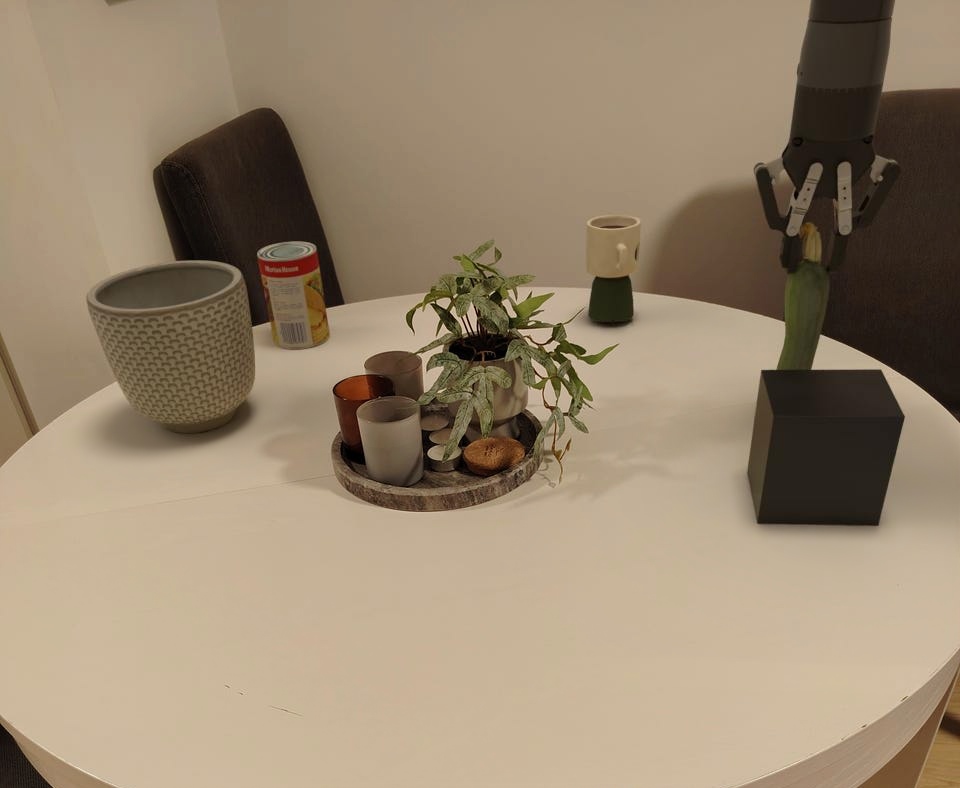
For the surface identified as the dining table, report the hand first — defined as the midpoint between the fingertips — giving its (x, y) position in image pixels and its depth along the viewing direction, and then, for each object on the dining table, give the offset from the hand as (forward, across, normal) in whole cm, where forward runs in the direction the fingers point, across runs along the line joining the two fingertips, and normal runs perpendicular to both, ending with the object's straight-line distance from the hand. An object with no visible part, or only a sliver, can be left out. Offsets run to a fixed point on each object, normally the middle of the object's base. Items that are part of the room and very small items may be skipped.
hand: (810, 270), depth 97 cm
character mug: (+16, -20, +30) cm, 40 cm away
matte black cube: (+16, 0, -18) cm, 24 cm away
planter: (+16, -69, -1) cm, 71 cm away
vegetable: (+15, 0, 0) cm, 15 cm away
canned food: (+16, -63, +24) cm, 70 cm away
